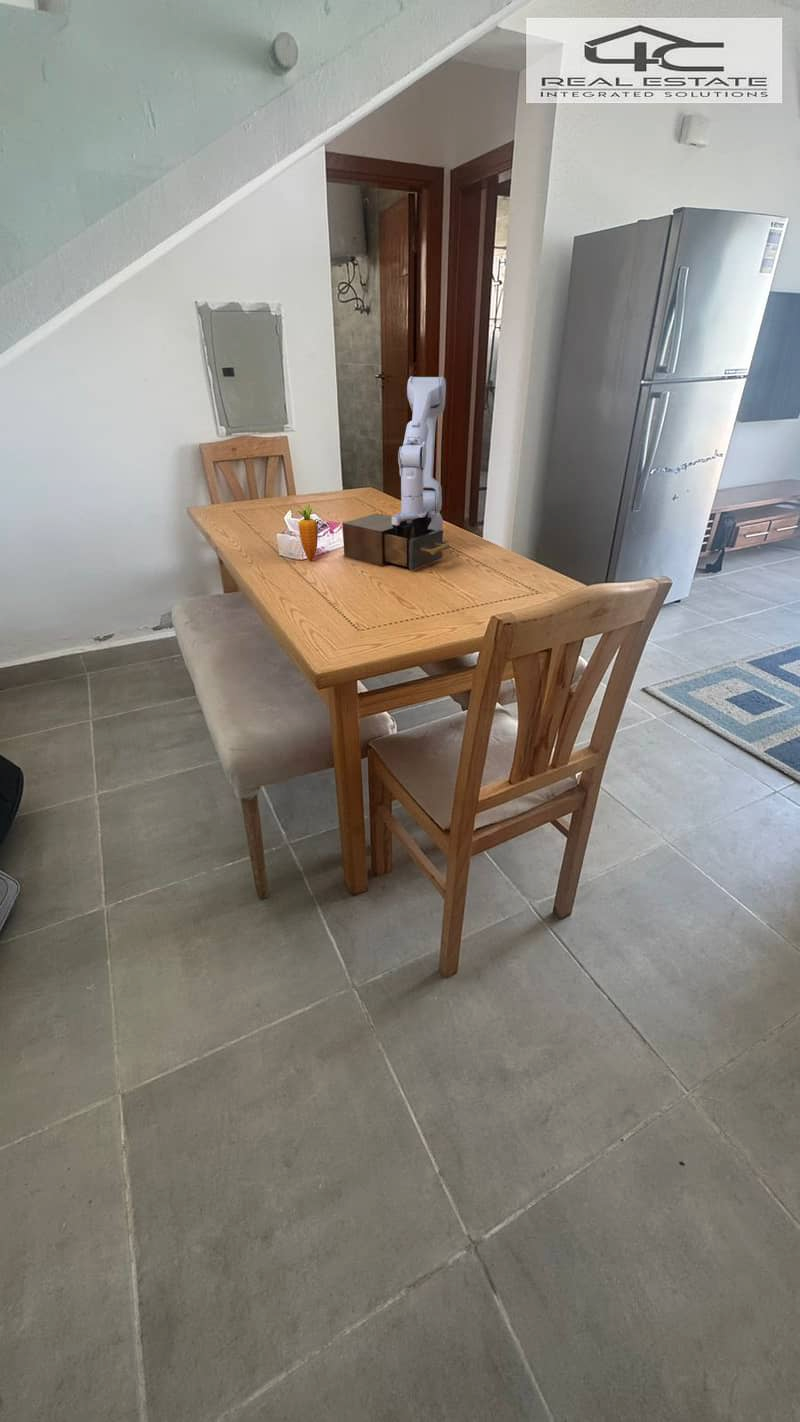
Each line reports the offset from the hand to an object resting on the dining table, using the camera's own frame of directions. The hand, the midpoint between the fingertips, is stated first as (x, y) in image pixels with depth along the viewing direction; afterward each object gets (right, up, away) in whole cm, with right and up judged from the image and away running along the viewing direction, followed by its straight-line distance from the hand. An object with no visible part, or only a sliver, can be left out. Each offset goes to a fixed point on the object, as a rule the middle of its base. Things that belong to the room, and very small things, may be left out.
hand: (412, 546), depth 164 cm
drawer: (+1, -4, +1) cm, 4 cm away
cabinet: (-9, 0, +9) cm, 13 cm away
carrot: (-28, -3, +5) cm, 29 cm away
